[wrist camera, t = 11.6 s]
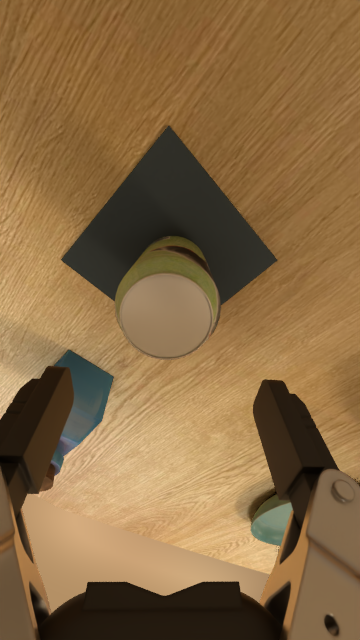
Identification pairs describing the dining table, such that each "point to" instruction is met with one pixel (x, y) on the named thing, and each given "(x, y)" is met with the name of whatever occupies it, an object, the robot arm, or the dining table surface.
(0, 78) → the dining table surface
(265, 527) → the saucer
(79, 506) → the dining table surface
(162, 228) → the mat
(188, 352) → the beverage can
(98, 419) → the perfume bottle
